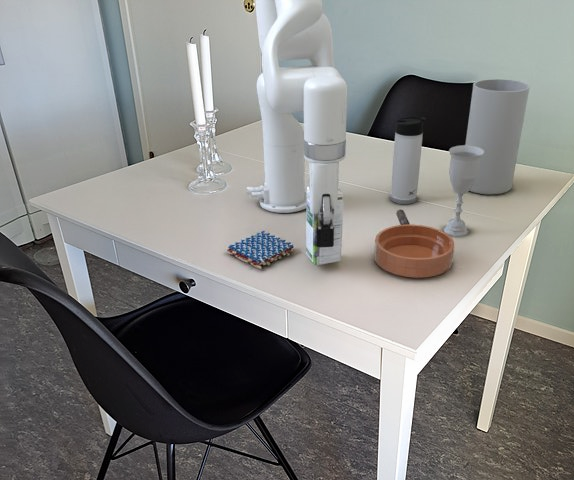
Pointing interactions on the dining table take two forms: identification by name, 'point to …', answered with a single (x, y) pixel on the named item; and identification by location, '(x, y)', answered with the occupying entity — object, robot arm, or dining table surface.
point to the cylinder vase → (496, 131)
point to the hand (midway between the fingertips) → (323, 236)
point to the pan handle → (402, 217)
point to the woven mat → (260, 249)
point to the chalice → (462, 181)
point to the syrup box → (316, 253)
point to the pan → (414, 250)
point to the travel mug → (406, 159)
